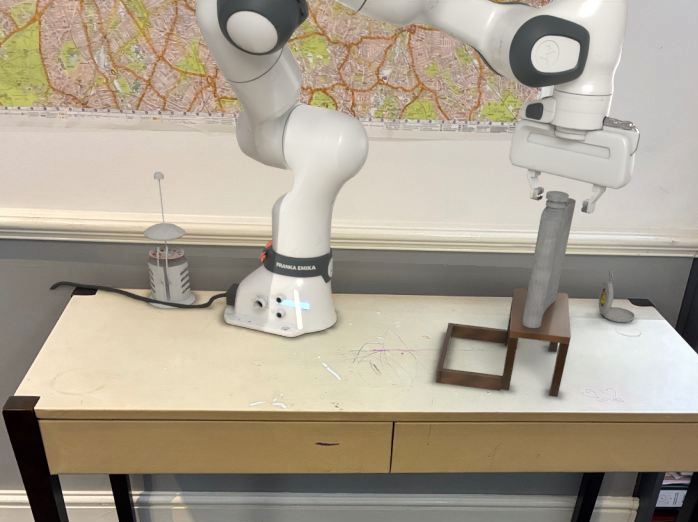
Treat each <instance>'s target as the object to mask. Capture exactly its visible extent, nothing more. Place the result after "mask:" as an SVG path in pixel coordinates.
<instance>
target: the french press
mask: <svg viewBox="0 0 698 522" xmlns="http://www.w3.org/2000/svg"><path fill="white" fill-rule="evenodd" d="M153 179H154V180H157V181H158V186H159V187H158V188H159V197H160V205H161V206H160V207H161V215H162V222H159V223H155V224H152V225H150V226H148V227H147V228H146V229H145V230H144V231H143V235H144V237H145V238H146V239H148V240H150V241H157V242H164V244H165V246H159V245H158V246H157V247H154V248H152V249H150V251H148V256H149V257H148V259H147V266H148V273H149V280H150V281H149V282H150V283H149V284H150V291H151V294H150V295H149V296H148V298H150V299H154V300H158V301H163V302H170V303H179V304H186V305H193V304H194V302H195V301H196V300H197V299H196V295H194V294H193V292H191V287H189V286H190V285H191V284H190V283H191V282H190V281H189V280H190V276H189V275H188V274H190V273H189V271H190V270H189V269H186V268H188V267H189V262H188V258H187V257H186V256H185V255H186V251H185V250H184V249H182V248H179V247H177V246H168V245H167V244H168V243H167V242H171V241H174V240H175V241H176V240H178V239H181V238H183V237H184V236H185V234H186V230H185V229H183V228H182V227H181V226H178V225H176V224H174V223H169V222H165V215H164V205H163V198H162V187H161V180H164V179H165V175H164V173H163V172H161V171H155V172H154V173H153ZM148 304H150V305H151V306H153V307H156V308H161V309H181V308H180V307H172V306H167V305H162V304H156V303H151V302H148Z"/></svg>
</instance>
